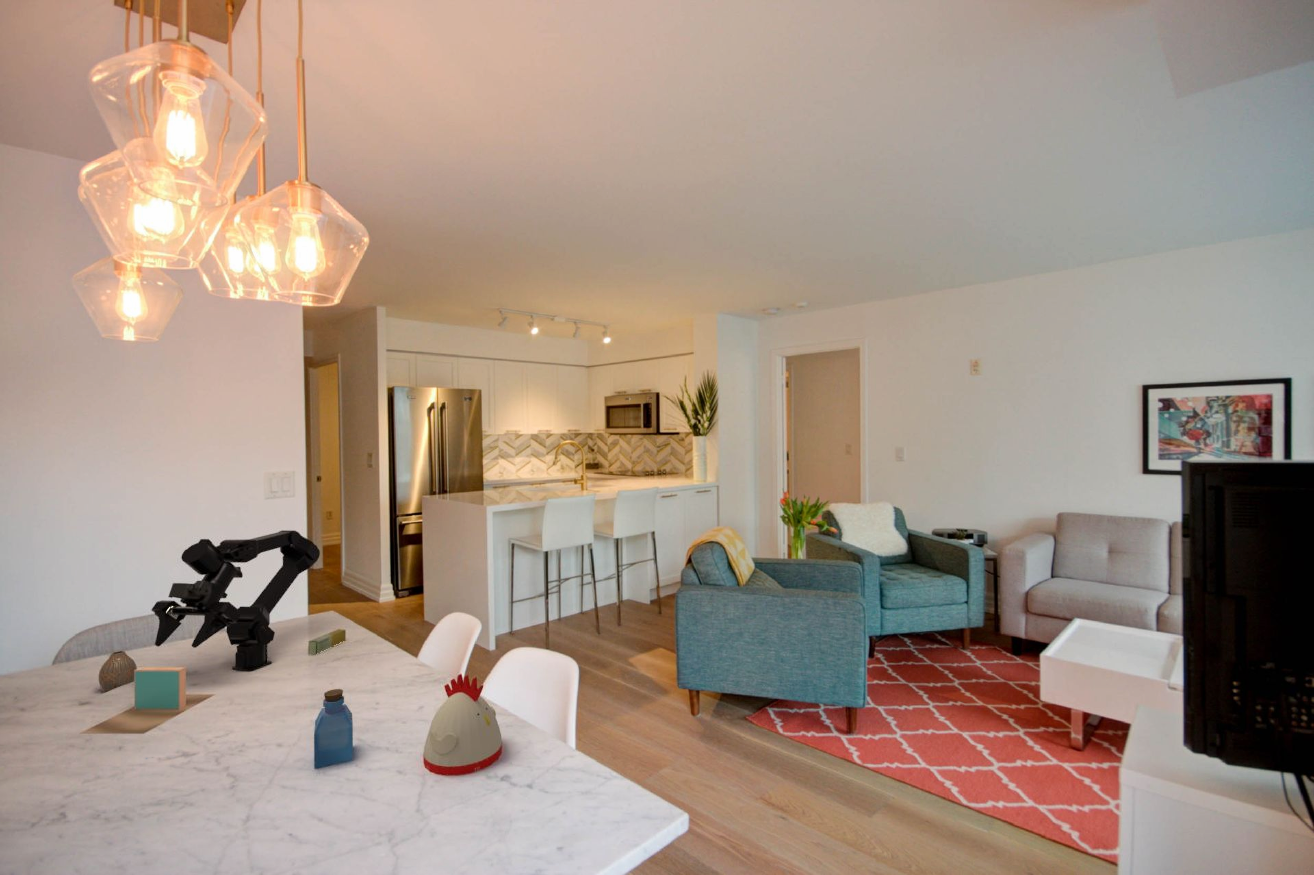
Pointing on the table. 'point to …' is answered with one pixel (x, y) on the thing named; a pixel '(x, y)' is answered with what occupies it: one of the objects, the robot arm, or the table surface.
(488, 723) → the kitchen timer
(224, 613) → the robot arm
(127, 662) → the vase
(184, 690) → the tile
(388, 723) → the table surface
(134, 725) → the board
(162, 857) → the table surface
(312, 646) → the medication box
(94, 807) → the table surface
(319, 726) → the perfume bottle
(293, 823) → the table surface
